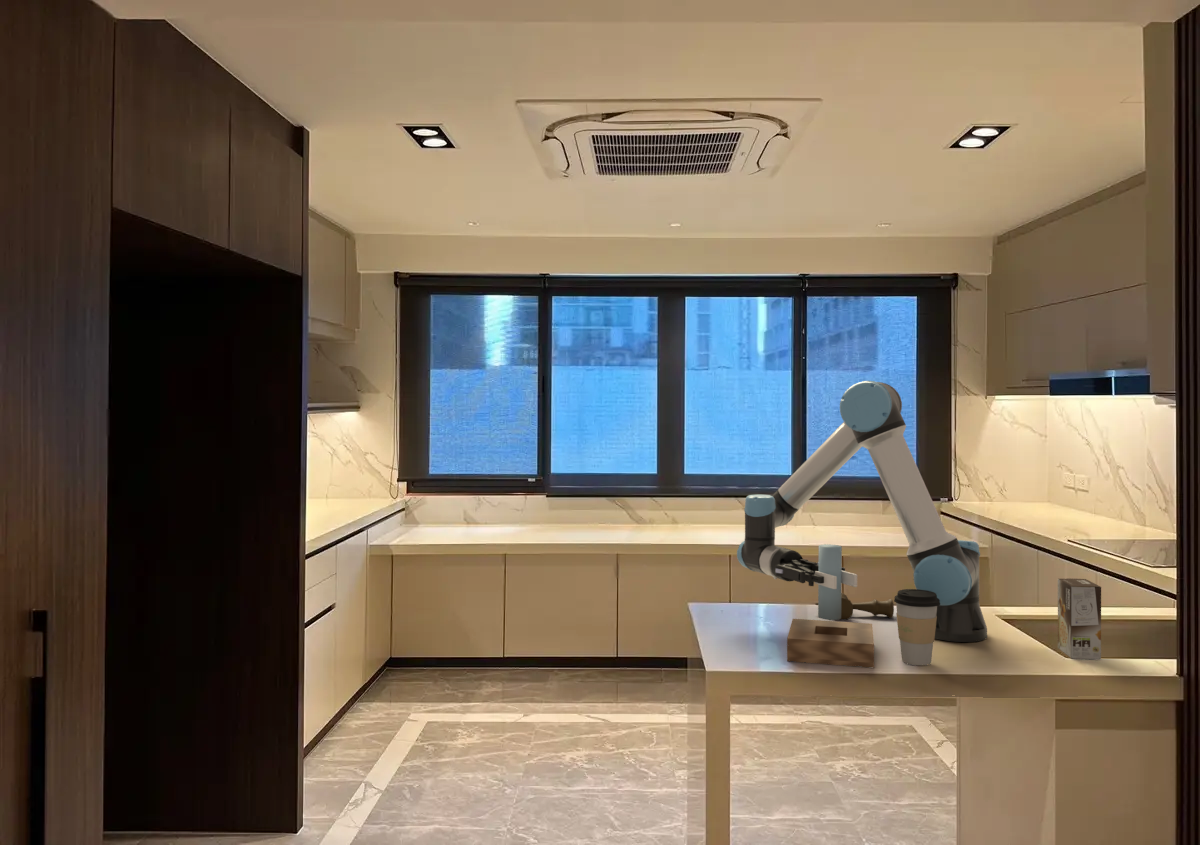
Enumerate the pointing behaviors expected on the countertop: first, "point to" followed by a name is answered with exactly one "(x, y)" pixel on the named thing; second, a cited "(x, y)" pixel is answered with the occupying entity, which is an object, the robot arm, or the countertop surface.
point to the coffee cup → (916, 624)
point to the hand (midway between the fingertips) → (845, 581)
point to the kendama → (866, 607)
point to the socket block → (831, 643)
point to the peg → (827, 596)
